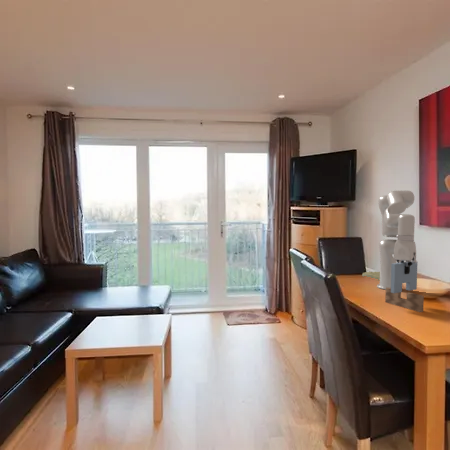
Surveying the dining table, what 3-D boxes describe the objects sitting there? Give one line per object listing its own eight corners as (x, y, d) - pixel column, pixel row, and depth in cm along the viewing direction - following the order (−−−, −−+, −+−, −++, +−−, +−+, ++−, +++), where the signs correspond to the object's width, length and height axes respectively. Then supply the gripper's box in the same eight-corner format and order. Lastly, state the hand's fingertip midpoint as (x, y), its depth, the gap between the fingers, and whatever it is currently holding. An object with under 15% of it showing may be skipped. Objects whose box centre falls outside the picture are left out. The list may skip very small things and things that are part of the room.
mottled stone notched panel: (385, 302, 186) (385, 287, 186) (388, 301, 187) (388, 287, 187) (420, 312, 168) (420, 296, 168) (423, 311, 170) (423, 296, 169)
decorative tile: (401, 279, 247) (401, 274, 247) (380, 281, 240) (380, 276, 240) (381, 274, 265) (381, 270, 265) (361, 276, 258) (361, 271, 258)
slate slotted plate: (394, 293, 173) (394, 264, 172) (390, 292, 174) (391, 263, 173) (416, 289, 181) (417, 261, 180) (413, 288, 182) (413, 261, 182)
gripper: (387, 237, 181) (386, 271, 182) (415, 240, 167) (414, 276, 168) (396, 237, 185) (395, 270, 186) (425, 239, 171) (423, 275, 172)
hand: (404, 273), depth 177 cm, fingers closed on slate slotted plate, 2 cm apart
